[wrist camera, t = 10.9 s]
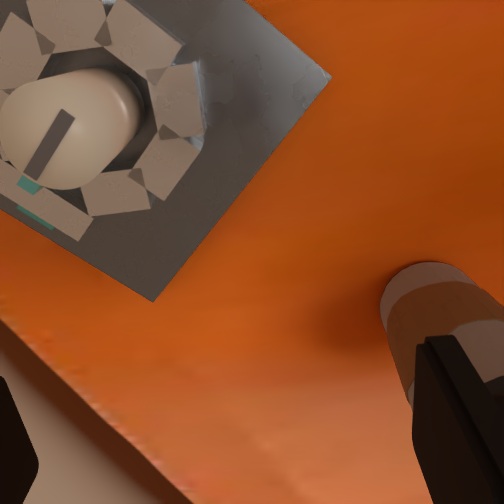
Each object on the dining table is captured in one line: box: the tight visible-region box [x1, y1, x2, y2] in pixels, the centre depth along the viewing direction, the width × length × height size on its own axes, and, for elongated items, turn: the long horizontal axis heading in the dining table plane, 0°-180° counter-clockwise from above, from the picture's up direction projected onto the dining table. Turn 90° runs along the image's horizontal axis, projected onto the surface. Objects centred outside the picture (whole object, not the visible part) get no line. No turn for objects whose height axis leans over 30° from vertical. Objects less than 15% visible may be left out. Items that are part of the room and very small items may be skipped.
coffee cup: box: [379, 262, 504, 411], centre depth 27 cm, size 8×8×15 cm
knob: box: [0, 66, 145, 195], centre depth 23 cm, size 5×4×8 cm
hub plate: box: [0, 0, 332, 302], centre depth 26 cm, size 18×18×3 cm
